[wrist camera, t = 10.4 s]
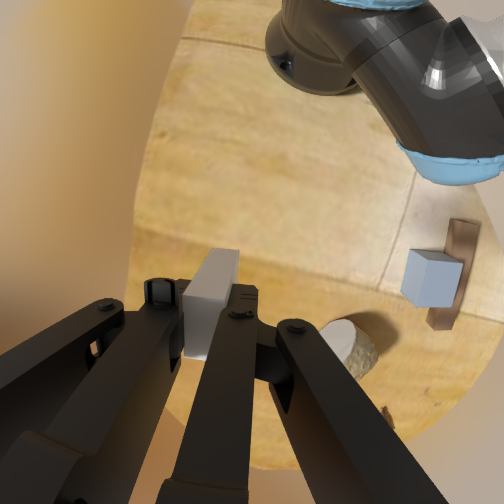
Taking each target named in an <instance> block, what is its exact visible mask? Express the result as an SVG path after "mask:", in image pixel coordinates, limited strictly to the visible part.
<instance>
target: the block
mask: <svg viewBox="0 0 504 504" xmlns="http://www.w3.org/2000/svg"><path fill="white" fill-rule="evenodd" d="M462 266H463V263H461V262H459V261H458V260H456V259H454V258H452V257H450V256H448V255H446V254H445V253H440V252H431V251H423V250H414V249H409V254H408V259H407V264H406V269H405V273H404V278H403V282H402V286H401V290H400V292H401V293H402V294H403V295H404V296H405V297H406V298H407V299H408V300H409V301H410V302H411V303H412V304H413V305H414V306H415V307H451V306H452V303H453V300H454V296H455V293H456V289H457V286H458V282H459V278H460V274H461V270H462Z"/></svg>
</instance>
